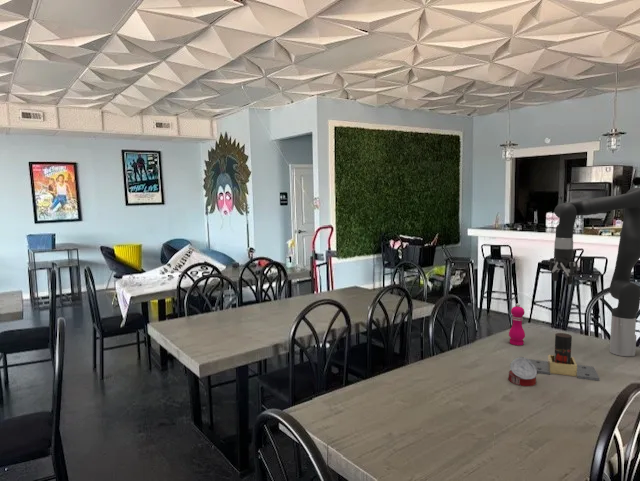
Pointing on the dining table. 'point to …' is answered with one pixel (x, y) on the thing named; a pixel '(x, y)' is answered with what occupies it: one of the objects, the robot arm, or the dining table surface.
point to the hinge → (565, 368)
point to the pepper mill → (517, 326)
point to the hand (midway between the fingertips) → (562, 282)
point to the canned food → (522, 372)
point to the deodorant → (563, 348)
